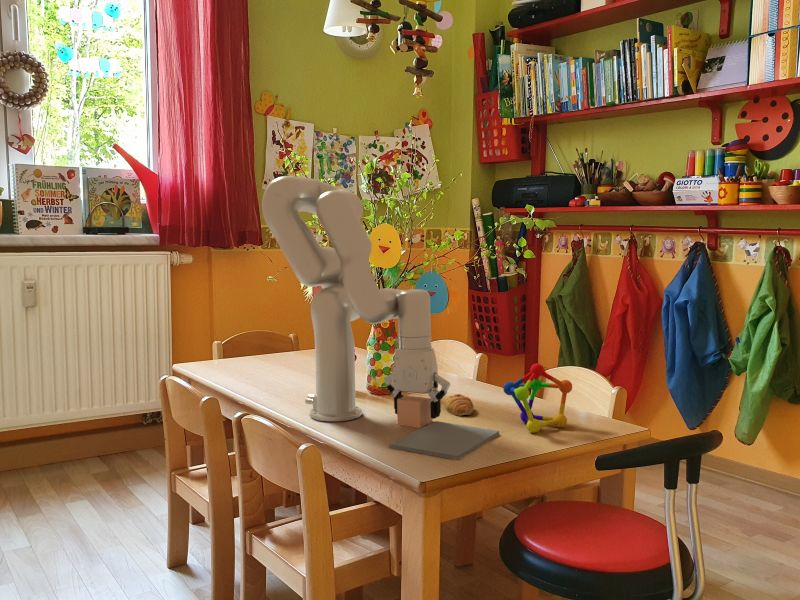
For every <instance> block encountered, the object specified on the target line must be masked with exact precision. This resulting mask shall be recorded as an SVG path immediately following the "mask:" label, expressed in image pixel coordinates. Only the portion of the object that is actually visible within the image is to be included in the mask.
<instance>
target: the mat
mask: <svg viewBox="0 0 800 600" xmlns="http://www.w3.org/2000/svg"><path fill="white" fill-rule="evenodd" d="M499 435H500V430H495V429H489V428H484V427H483V428H482V427H476V426H471V425H469V426H468V425H464V424H463V425H462V424H458V423H449V422H445V421H444V422H443V421H438V420H437V421H436V420H435V421H432V422H430V423H428V424H426V425H424V426H422V427H420V428H419V429H417V430H415V431H412V432H411V433H409V434H407V435H404V436H403V437H401V438H399V439H397V440H395V441H393V442H390V443H389V448H390V449H395V450H401V451H406V452H410V453H411V452H413V453H417V454H423V455H429V456H433V457H438V458H439V457H440V458H445V459H450V460H456V461H459V460H461V459H462V458H464V457H465V456H467V455H469V454H470V453H471V452H473V451H475V450H477V449H478V448H480V447H481V446H483V445H484V444H486V443H487V442H489V441H491V440H493V439H494V438H496V437H497V436H499Z"/></svg>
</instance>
